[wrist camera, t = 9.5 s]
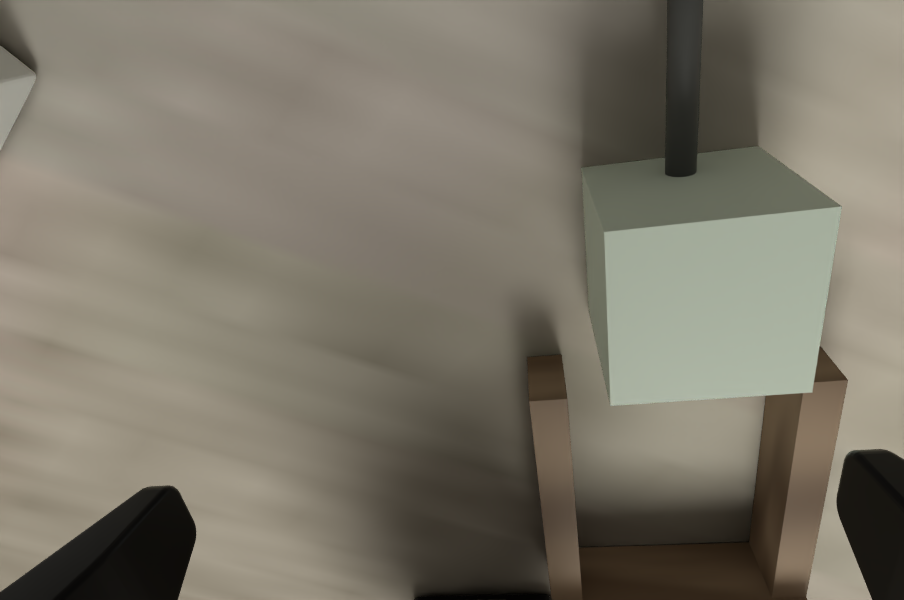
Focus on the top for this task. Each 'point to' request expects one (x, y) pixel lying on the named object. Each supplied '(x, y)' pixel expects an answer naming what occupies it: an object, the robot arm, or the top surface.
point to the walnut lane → (696, 565)
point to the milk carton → (12, 90)
